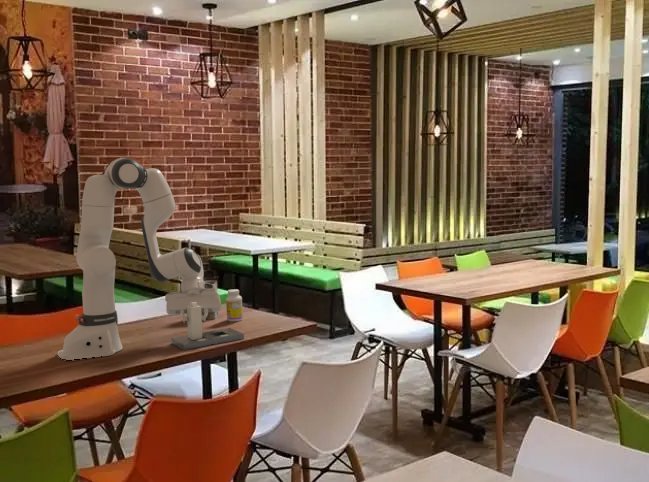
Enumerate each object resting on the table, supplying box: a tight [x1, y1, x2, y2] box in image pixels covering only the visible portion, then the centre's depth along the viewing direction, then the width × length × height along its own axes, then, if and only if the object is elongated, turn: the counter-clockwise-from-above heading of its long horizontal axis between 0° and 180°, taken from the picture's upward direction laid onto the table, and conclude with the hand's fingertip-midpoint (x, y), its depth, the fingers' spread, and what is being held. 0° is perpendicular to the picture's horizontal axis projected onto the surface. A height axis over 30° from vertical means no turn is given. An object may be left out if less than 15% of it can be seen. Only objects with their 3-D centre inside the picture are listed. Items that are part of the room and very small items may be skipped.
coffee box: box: [201, 279, 219, 320], centre depth 305 cm, size 9×6×16 cm
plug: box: [186, 302, 203, 340], centre depth 262 cm, size 4×4×13 cm
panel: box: [171, 327, 245, 351], centre depth 265 cm, size 24×12×2 cm, turn 123°
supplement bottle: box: [225, 288, 244, 323], centre depth 298 cm, size 7×7×13 cm
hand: (194, 321), depth 261 cm, fingers closed on plug, 5 cm apart
